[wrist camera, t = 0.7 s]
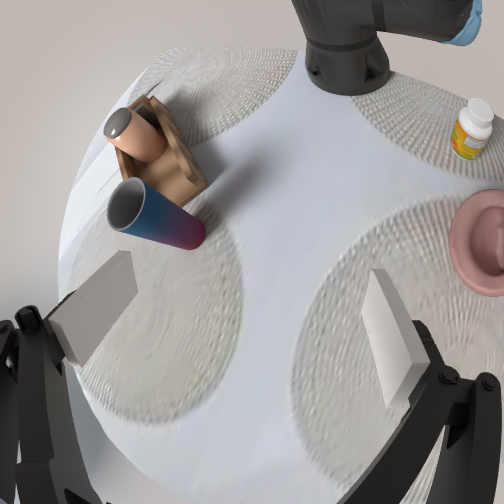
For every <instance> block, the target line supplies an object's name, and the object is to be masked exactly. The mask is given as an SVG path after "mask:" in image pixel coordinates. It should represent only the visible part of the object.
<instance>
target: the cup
mask: <svg viewBox="0 0 504 504" xmlns="http://www.w3.org/2000/svg"><path fill="white" fill-rule="evenodd" d="M107 220H108V223H109V225H110V227H111V228H112V229H114V230H116V231H120V232H123V233H127V234H131V235H134V236H138V237H141V238H145V239H149V240H152V241H156V242H160V243H163V244H167V245H171V246H174V247H178V248H182V249H186V250H193V249H196V248H197V247H199V246H200V244H201V243H202V242H203V240H204V237H205V228H204V225H203V224H202V223H201V222H200V221H199V220H197V219H196V218H195V217H193V216H192V215H190V214H189V213H187V212H186V211H185V210H183V209H182V208H180V207H179V206H178V205H176V204H175V203H173V202H172V201H171V200H169V199H168V198H166V197H165V196H163V195H162V194H161V193H159V192H158V191H156V190H155V189H154V188H152V187H151V186H149V185H148V184H147V183H145V182H144V181H142V180H141V179H139V178H137V177H131V178H128V179H126V180H124V181H123V182H121V183H120V184H119V185H118V186H117V188H116V189H115V190H114V192H113V194H112V196H111V198H110V200H109V203H108V208H107Z"/></svg>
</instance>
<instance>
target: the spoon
mask: <svg viewBox="0 0 504 504" xmlns="http://www.w3.org/2000/svg"><path fill="white" fill-rule="evenodd" d="M169 73H170V71H168V72H167V73H165V74H164V75H163V76H162V77H161V78H160V79H159V80H158V81H156V82H155V83H154V84H153V85H152V86H151V87H150V88H149V89H148V90H147V91H146V92H145V93H143V94H144V95H145V94H146V93H147V92H148V91H149V90H151V89H152V88H153V87H154V86H156V85H157V84H158V83H160V82H161V81H162V80H164V79H165V78H166V77H167V76H168V75H169ZM143 94H142V95H143ZM142 95H141V96H142Z"/></svg>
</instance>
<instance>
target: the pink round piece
mask: <svg viewBox="0 0 504 504" xmlns="http://www.w3.org/2000/svg"><path fill="white" fill-rule="evenodd" d="M449 252H450V257H451V261H452V264H453V267H454V269H455V271H456V273H457V275H458V276H459V278H460V279H461V280H462V282H463V283H464V284H465V285H466V286H467V287H468V288H470V289H471V290H473V291H474V292H476V293H478V294H480V295H484V296H488V297H499V296H504V191H503V190H498V189H488V190H483V191H479V192H477V193H475V194H473V195H471V196H470V197H469V198H467V199H466V200H465V201H464V202H463V203H462V204H461V205H460V207H459V208H458V210H457V211H456V213H455V215H454V218H453V220H452V223H451V227H450V232H449Z"/></svg>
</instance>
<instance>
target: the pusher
mask: <svg viewBox="0 0 504 504" xmlns="http://www.w3.org/2000/svg"><path fill="white" fill-rule="evenodd" d="M126 109H129V108H128V107H127V108H126ZM134 111H135V112H136V113H137V114H138V115H140V116H141V117H142V118H143V119H145V120H146V121H147V122H148V123H149V124H151V125H152V126H153V127H154V128H156V129H158V128H159V127H160V126H161V124H160V122H159V120H158V118H157V116H156V114H155V113H154V112H153V111H151V110H150V109H149V108H148V107H147V106H146V105H145V104H143V103H141V104H140V105H139V106H138V107H137V108H136V109H135V110H134Z"/></svg>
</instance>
